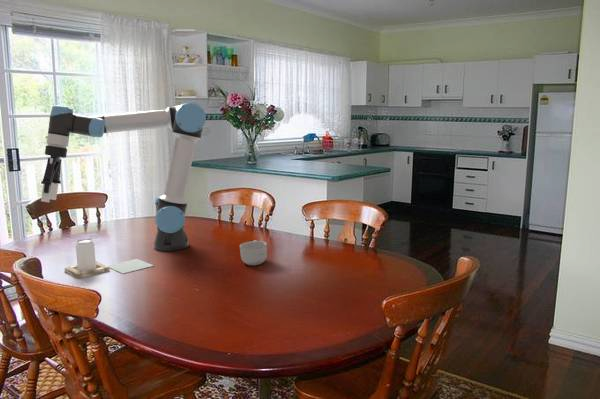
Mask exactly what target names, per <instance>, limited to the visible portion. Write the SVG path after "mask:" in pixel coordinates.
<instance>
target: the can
mask: <svg viewBox="0 0 600 399" xmlns="http://www.w3.org/2000/svg"><path fill="white" fill-rule="evenodd" d="M95 250H96V249H95V243H94V241H93V239H92V238H85V239H84V238H83V239H79V240H77V241H76V244H75V252H76V254H75V255H76V265H77V266H78V271H80V272H84V271H88V270H92V269H96V251H95Z"/></svg>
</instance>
